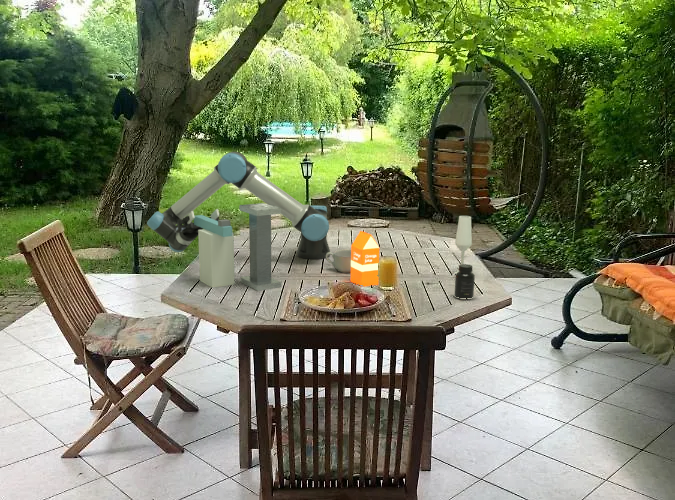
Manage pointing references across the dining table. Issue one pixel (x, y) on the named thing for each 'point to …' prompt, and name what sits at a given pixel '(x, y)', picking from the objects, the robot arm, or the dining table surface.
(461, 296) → the supplement bottle
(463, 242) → the champagne flute
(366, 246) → the orange juice
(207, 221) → the ledger bar
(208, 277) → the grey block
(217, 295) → the dining table surface
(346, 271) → the teacup
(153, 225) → the robot arm
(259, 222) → the standard post
